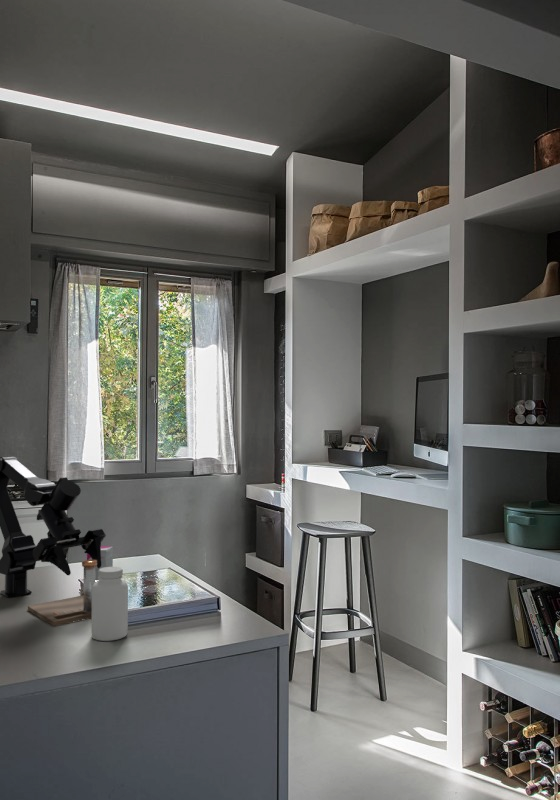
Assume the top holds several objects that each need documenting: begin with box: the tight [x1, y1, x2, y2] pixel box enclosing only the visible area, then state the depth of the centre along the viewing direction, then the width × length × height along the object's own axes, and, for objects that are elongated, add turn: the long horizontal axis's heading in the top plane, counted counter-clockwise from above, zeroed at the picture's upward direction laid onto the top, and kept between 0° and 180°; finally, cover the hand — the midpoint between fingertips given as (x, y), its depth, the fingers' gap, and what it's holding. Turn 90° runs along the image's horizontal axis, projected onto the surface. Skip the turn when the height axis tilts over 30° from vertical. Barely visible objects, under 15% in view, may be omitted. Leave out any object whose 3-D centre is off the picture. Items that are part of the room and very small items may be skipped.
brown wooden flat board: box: [27, 595, 92, 627], centre depth 166 cm, size 16×16×1 cm
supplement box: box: [86, 546, 114, 580], centre depth 188 cm, size 6×6×12 cm
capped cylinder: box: [81, 559, 97, 614], centre depth 163 cm, size 4×4×13 cm
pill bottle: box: [90, 566, 129, 642], centre depth 149 cm, size 8×8×15 cm
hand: (85, 570), depth 165 cm, fingers open, 9 cm apart
